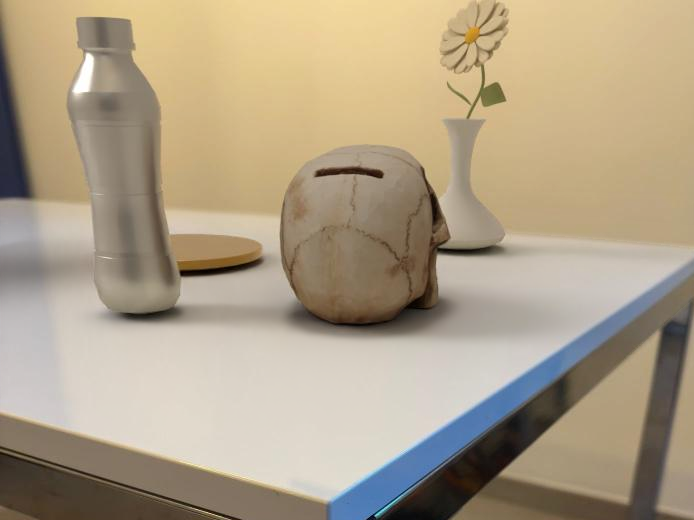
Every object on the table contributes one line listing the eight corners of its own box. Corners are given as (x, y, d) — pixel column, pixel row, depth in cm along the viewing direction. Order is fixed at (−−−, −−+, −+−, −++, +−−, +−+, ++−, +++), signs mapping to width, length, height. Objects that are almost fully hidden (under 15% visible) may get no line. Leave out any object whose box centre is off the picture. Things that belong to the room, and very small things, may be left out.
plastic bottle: (152, 326, 59) (113, 13, 50) (80, 316, 61) (30, 15, 52) (200, 307, 64) (173, 22, 55) (132, 299, 66) (95, 24, 57)
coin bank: (400, 276, 76) (407, 124, 68) (494, 340, 63) (515, 162, 55) (244, 295, 70) (233, 131, 63) (313, 369, 57) (308, 175, 50)
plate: (65, 271, 77) (63, 255, 76) (143, 244, 91) (141, 231, 91) (230, 280, 74) (229, 264, 73) (282, 251, 89) (282, 237, 88)
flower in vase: (392, 242, 95) (397, 0, 84) (472, 238, 100) (488, 6, 88) (444, 261, 85) (458, -13, 73) (531, 255, 89) (557, -5, 78)
